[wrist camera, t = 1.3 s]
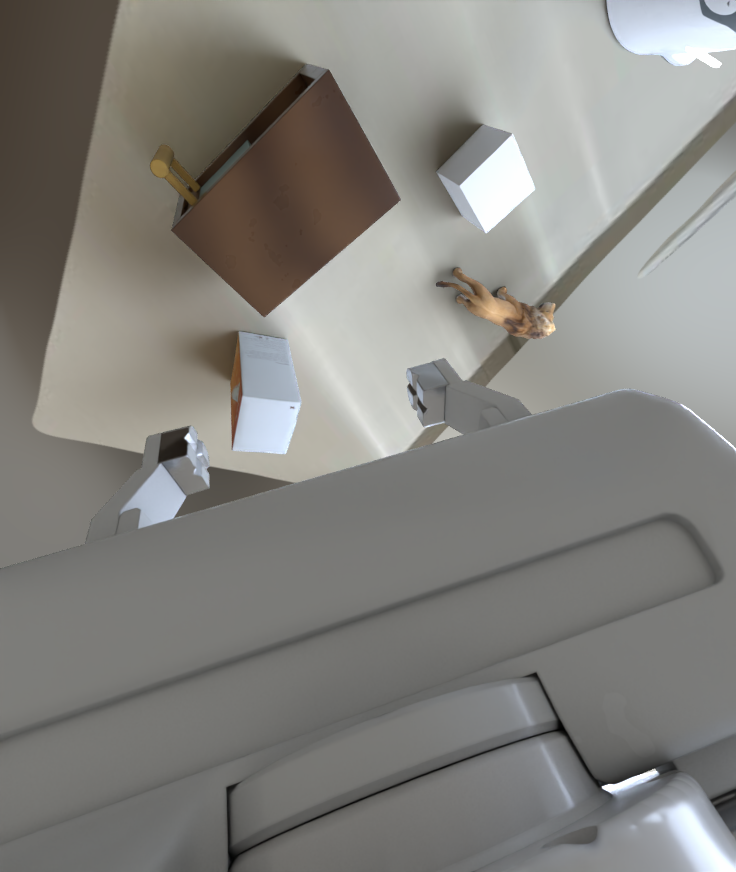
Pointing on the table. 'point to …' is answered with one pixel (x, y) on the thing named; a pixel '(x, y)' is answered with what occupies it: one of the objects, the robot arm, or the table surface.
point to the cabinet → (287, 193)
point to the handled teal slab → (167, 160)
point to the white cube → (486, 177)
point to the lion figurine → (504, 309)
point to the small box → (263, 394)
